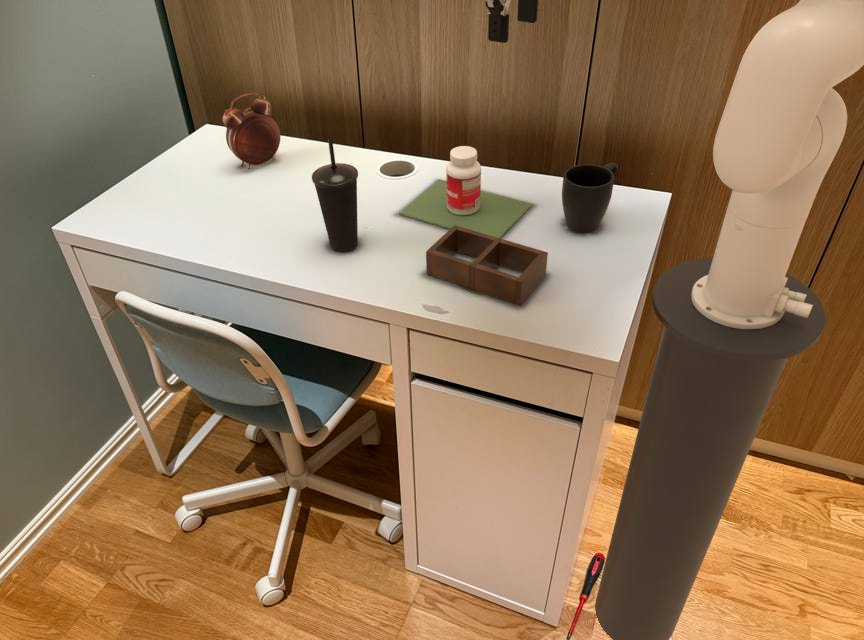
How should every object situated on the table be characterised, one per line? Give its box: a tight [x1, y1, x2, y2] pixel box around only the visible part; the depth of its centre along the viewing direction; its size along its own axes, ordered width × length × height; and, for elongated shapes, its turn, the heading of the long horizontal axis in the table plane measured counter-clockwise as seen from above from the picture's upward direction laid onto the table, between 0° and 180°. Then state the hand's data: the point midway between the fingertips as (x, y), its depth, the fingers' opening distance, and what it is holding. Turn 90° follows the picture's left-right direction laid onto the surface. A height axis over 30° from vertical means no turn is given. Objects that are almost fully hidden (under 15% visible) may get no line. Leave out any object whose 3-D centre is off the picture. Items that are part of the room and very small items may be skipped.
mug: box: [561, 162, 619, 234], centre depth 122 cm, size 8×12×10 cm
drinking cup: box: [311, 136, 359, 253], centre depth 119 cm, size 8×8×20 cm
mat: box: [398, 179, 533, 239], centre depth 131 cm, size 20×14×1 cm
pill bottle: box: [445, 145, 482, 215], centre depth 127 cm, size 6×6×11 cm
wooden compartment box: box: [425, 225, 549, 306], centre depth 114 cm, size 17×9×4 cm, turn 55°
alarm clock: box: [222, 91, 281, 170], centre depth 146 cm, size 11×5×15 cm, turn 124°
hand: (512, 31), depth 112 cm, fingers open, 9 cm apart
